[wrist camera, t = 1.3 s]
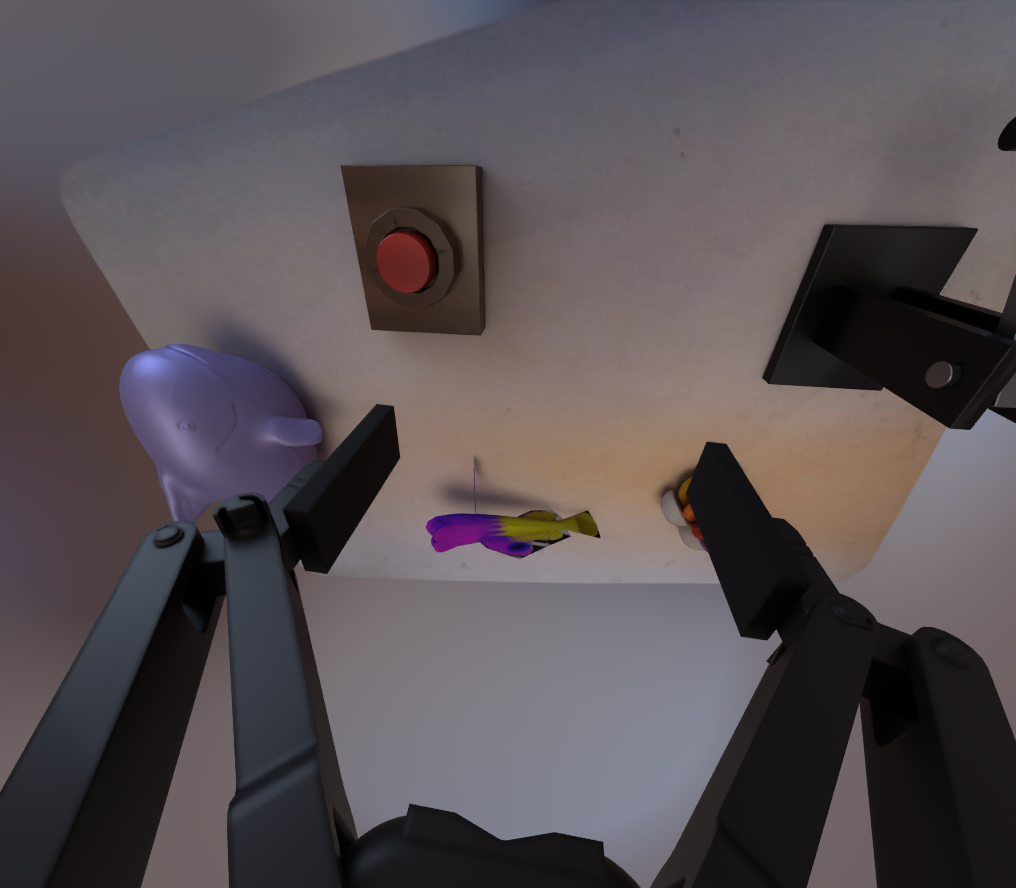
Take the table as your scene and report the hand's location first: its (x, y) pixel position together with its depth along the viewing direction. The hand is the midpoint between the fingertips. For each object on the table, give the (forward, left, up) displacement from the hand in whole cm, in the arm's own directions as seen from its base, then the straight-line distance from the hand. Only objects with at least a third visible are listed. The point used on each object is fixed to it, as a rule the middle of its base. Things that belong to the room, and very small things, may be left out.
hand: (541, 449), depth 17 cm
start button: (-1, -12, -17) cm, 21 cm away
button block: (-1, -12, -21) cm, 24 cm away
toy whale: (+21, -23, -21) cm, 38 cm away
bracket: (-8, +22, -21) cm, 31 cm away
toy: (+22, +4, -21) cm, 31 cm away
